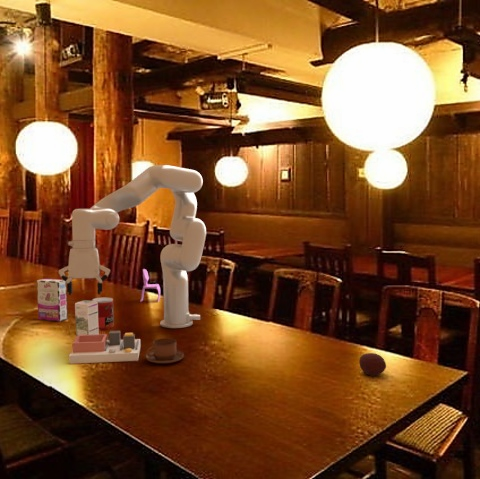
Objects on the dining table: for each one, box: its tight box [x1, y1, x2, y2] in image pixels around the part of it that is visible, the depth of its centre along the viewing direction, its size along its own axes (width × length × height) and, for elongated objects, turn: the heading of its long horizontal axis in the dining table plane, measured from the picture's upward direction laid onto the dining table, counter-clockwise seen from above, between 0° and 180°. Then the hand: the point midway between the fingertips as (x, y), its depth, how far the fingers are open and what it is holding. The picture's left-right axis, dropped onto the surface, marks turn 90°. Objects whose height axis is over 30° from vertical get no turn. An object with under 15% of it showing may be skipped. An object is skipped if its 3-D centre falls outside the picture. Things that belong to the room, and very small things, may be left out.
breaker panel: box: [68, 333, 141, 364], centre depth 188 cm, size 21×16×6 cm
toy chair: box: [139, 268, 161, 303], centre depth 272 cm, size 8×9×15 cm
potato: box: [358, 352, 387, 376], centre depth 168 cm, size 7×8×6 cm
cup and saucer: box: [145, 338, 185, 365], centre depth 182 cm, size 12×12×6 cm
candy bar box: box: [36, 278, 68, 323], centre depth 236 cm, size 11×5×16 cm, turn 68°
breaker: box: [108, 330, 122, 345], centre depth 191 cm, size 3×3×4 cm
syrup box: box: [74, 300, 100, 338], centre depth 202 cm, size 6×6×14 cm
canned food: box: [91, 296, 115, 331], centre depth 223 cm, size 8×8×11 cm
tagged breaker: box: [122, 332, 136, 349], centre depth 187 cm, size 3×3×5 cm
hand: (85, 294), depth 200 cm, fingers open, 9 cm apart
